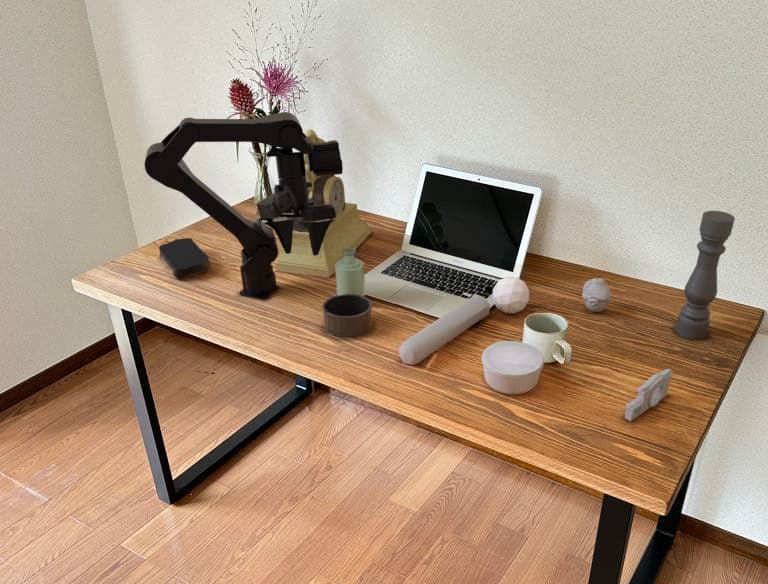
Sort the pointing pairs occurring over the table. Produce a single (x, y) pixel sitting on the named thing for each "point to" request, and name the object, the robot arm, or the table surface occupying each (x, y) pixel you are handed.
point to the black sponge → (184, 258)
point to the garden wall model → (649, 394)
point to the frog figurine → (596, 294)
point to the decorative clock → (339, 234)
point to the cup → (347, 315)
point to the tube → (444, 330)
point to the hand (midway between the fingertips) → (301, 254)
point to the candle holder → (704, 275)
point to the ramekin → (512, 366)
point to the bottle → (350, 274)
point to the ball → (510, 295)
